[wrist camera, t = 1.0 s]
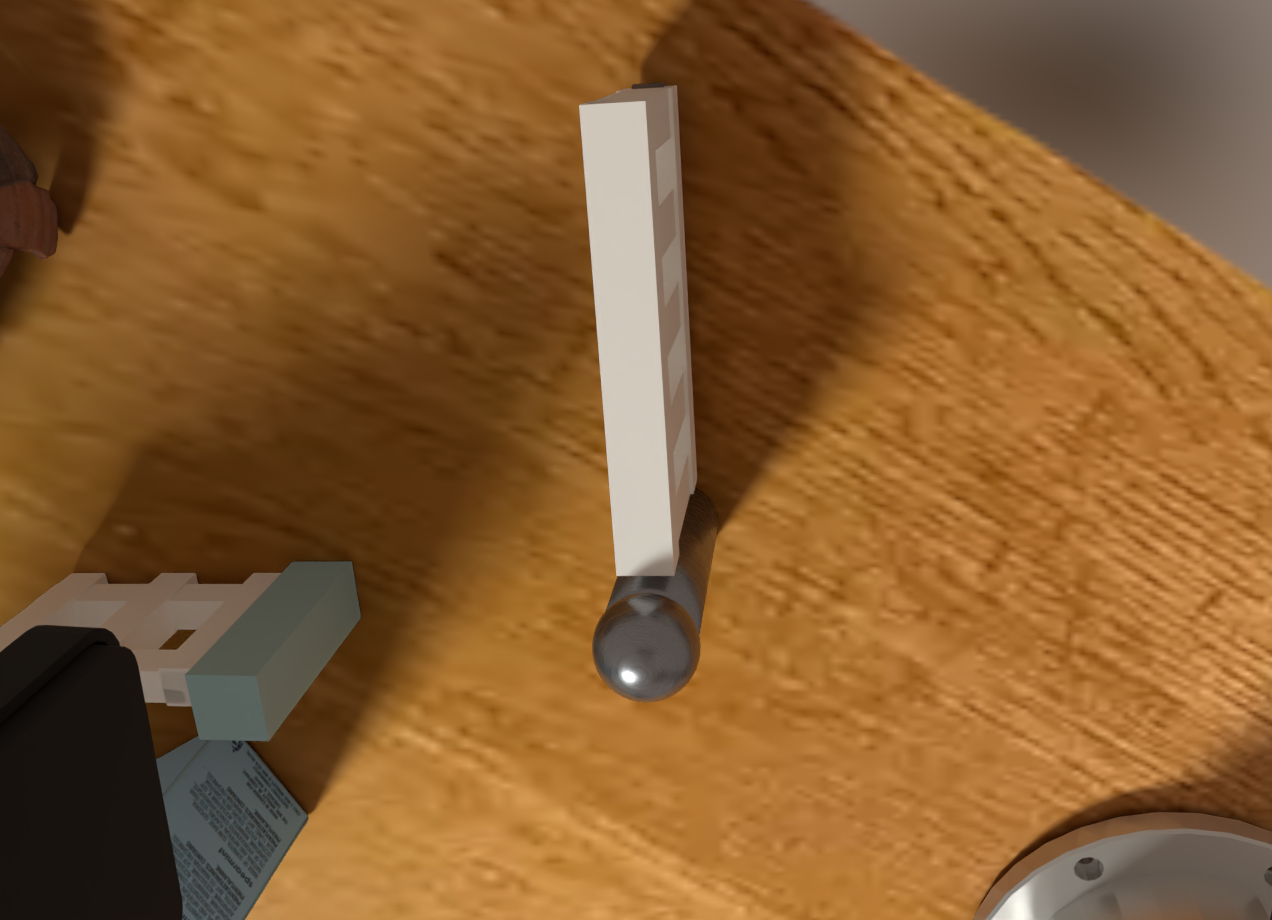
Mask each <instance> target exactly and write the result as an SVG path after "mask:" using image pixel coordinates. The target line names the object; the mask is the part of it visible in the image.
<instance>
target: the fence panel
mask: <svg viewBox="0 0 1272 920" xmlns="http://www.w3.org/2000/svg"><path fill="white" fill-rule="evenodd" d="M280 574H281V573H253V574H252V575H251V576H250V577H249V578H248V579H247V580H246V581H245V582H244V583H243V584H198V580H197V576H196V573H161V574H160V575H159V576H158V577H156V578H155V579H154V580H153V581H152V582H151V583H149V584H108V581H107V577H106V573H71V574H70V575H69V576H68V577H66V578H65V579H64V580H62V581H61V582H60V583H58V584H56V585H54V586H53V587H52V588H50V589H49V590H48V591H46V592H45V593H44V594H42V595H41V596H40V597H38V598H37V599H36V600H34V602H33V603H32V604H30V605H29V606H28V607H26V608H25V609H24V610H22V611H21V612H20V613H18V614H17V615H16V616H14V617H13V618H12V619H10V620H9V621H8V622H6V623H5V624H4V625H2V626H1V627H0V652H1V651H2V650H3V649H4V648H6V647H7V646H8V645H9V644H11V643H12V642H13V641H14V640H16V639H17V638H18V637H19V636H21V635H22V634H23V633H24V632H26V631H27V630H29V629H31V628H33V627H35V626H36V625H57V626H75V627H92V628H105V629H107V630H109V631H111V632H113V634H114V635H115V636H116V638H117V639H118V641H119V643H120V646H124V647H127V648H129V649H130V650H131V651H132V652H133V654H134V655H135V657H136V660H137V663H138V667H139V672H140V678H141V683H142V688H143V694H144V699H145V703H166V704H167V706H192V705H191V701H190V696H189V692H188V688H187V683H186V679H185V674H186V673H187V672H188V671H189V670H190V669H191V668H192V667H193V666H194V665H195V664H196V663H197V662H198V660H199V659H200V658H201V657H202V656H203V655H204V654H205V653H206V652H207V651H208V650H209V649H210V648H211V647H212V646H213V645H214V644H215V643H216V642H217V640H218V639H219V638H220V637H221V636H222V635H223V634H224V633H225V632H226V631H227V630H228V629H229V628H230V627H231V626H232V625H233V624H234V623H235V622H236V620H237V619H238V618H239V617H240V616H241V615H242V614H243V613H244V612H245V611H246V610H247V609H248V608H249V607H250V606H251V605H252V604H253V603H254V602H255V600H256V599H257V598H258V597H259V596H260V595H261V594H262V593H263V592H264V591H265V590H266V589H267V588H268V587H269V586H270V585H271V584H272V583H273V582H274V580H275V579H276V578H277V577H278V576H279V575H280ZM178 630H196V631H195V632H194V633H193V634H192V635H191V636H190V637H189V638H188V639H187V640H186V641H185V642H184V643H183V644H182V645H181V646H180V647H179V648H178V649H177V650H158V649H159V648H160V647H161V646H162V645H163V644H164V643H165V642H166V641H167V640H168V639H169V638H170V637H171V636H172V635H174V634H175V633H176V632H177V631H178Z"/></svg>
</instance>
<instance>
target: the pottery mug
mask: <svg viewBox="0 0 1272 920" xmlns="http://www.w3.org/2000/svg"><path fill="white" fill-rule="evenodd" d="M37 178H38V175H37V171H36V169H35V166H34V164H33V163H32V162H31V161H30V160H29V158H28V157H27V156H26V154H25V153H24V152H23V150H22V149H21V148H20V147H19V145H18V144H17V142H16V141H15V140H14V139H13V138H12V137H11V136H10V135H9V133H8V132H7V131H6V130H5V129H4V128H3V127H2V125H1V124H0V278H1V277H2V275H3V273H4V272H5V270H6V268H7V267H8V264H9V262H10V261H11V259H12V256H13V250H19V251H26V252H31V253H32V254H34V255H35V256H37V257H38V258H39V259H42V260H44V259H47V258H48V257H49V256H51V255H53V254H54V253H55V252H56V247H57V240H58V212H57V208H56V205H55V203H54V202H53V201H52V200H51V199H50V194H49V191H48V190H46V189H43V188H40V187H37V186H36V182H37Z"/></svg>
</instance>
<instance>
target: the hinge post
mask: <svg viewBox="0 0 1272 920" xmlns="http://www.w3.org/2000/svg"><path fill="white" fill-rule="evenodd" d="M717 529H718V516H717V512H716V509H715V507H714V505H713V504H712V502H711V501H710V499H709V498H708V497H707V496H706V495H705V494H703V493H702V492H701V491H699V490H697V489H695V490H694V494H690V496H689V500H688V505H687V509H686V513H685V517H684V521H683V525H682V529H681V533H680V537H679V541H678V542H679V558H678V562H677V566H676V571H675V575H674V576H617V579H616V582H615V585H614V588H613V591H612V594H611V597H610V600H609V603H608V606H607V609H606V612H605V613H604V614H603V615H602V617H601V618H600V620H599V622H598V624H597V626H596V628H595V632H594V636H593V642H592V653H593V660H594V663H595V666H596V669H597V671H598V673H599V675H600V677H601V678H602V680H603V681H604V682H605V683H606V685H607V686H608V687H609V688H610V689H612V690H613V691H614V692H615V693H617V694H619V695H620V696H622V697H624V698H627V699H629V700H633V701H637V702H656V701H660V700H664V699H666V698H668V697H671V696H673V695H674V694H676V693H677V692H679V691H680V690H681V689H682V688H683V687H684V686H685V685H686V684H687V683H688V682H689V681H690V679H691V678H692V676H693V674H694V672H695V671H696V668H697V665H698V662H699V658H700V637H699V633H700V627H701V622H702V616H703V610H704V604H705V599H706V593H707V587H708V581H709V575H710V570H711V564H712V558H713V552H714V547H715V541H716V535H717Z"/></svg>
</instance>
